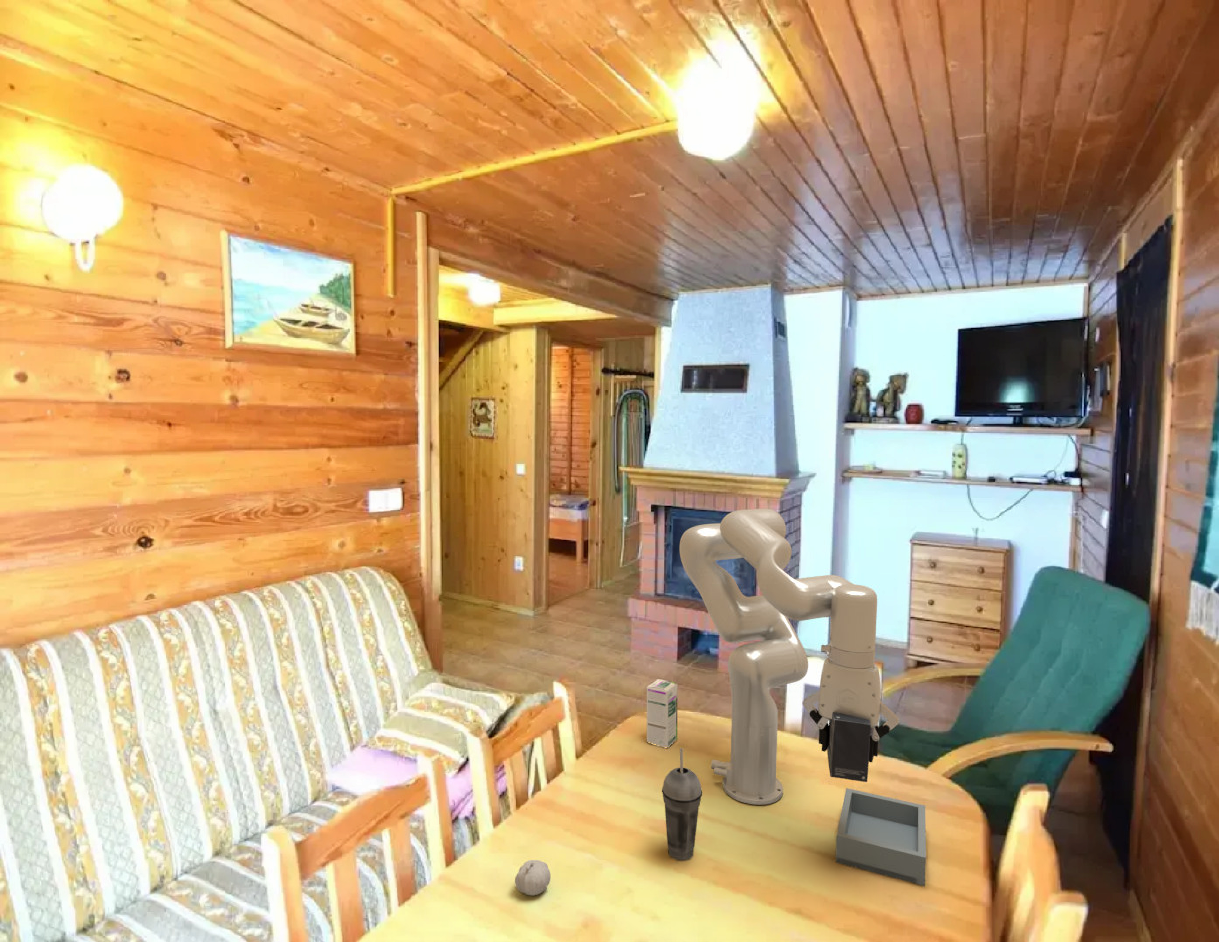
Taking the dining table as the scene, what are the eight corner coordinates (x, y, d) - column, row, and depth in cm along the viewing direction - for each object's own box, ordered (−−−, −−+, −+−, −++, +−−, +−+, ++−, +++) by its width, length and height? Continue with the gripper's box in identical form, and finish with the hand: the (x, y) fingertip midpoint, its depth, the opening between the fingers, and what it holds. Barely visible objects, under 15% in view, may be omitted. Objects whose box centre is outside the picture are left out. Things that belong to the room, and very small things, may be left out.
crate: (835, 862, 120) (836, 835, 120) (845, 811, 136) (846, 787, 136) (924, 885, 114) (926, 857, 114) (924, 830, 130) (925, 805, 130)
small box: (870, 783, 114) (872, 723, 114) (829, 778, 116) (832, 719, 115) (863, 754, 125) (865, 699, 124) (826, 749, 126) (828, 694, 125)
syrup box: (667, 749, 162) (668, 690, 161) (645, 743, 164) (646, 685, 164) (677, 740, 166) (678, 682, 165) (656, 734, 169) (657, 677, 168)
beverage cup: (704, 845, 125) (706, 740, 123) (696, 869, 118) (698, 758, 117) (666, 836, 127) (668, 733, 126) (656, 860, 120) (657, 751, 119)
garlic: (525, 907, 108) (525, 876, 108) (509, 888, 113) (509, 858, 112) (557, 892, 112) (557, 862, 112) (540, 874, 116) (540, 845, 116)
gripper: (797, 653, 120) (793, 750, 121) (903, 671, 112) (899, 775, 113) (805, 641, 126) (802, 733, 127) (907, 658, 118) (902, 756, 120)
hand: (847, 752), depth 120 cm, fingers closed on small box, 7 cm apart
